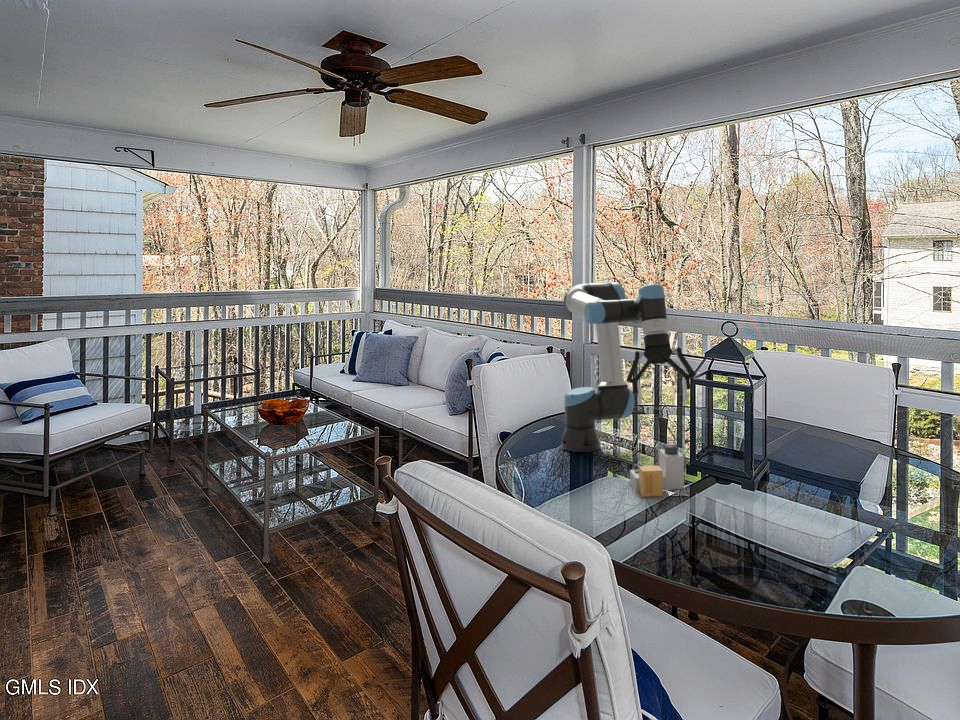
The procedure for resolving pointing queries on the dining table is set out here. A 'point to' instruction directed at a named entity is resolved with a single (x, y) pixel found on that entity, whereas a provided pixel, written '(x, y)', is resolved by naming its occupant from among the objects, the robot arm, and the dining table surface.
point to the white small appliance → (665, 471)
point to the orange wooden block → (650, 481)
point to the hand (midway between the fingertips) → (663, 402)
